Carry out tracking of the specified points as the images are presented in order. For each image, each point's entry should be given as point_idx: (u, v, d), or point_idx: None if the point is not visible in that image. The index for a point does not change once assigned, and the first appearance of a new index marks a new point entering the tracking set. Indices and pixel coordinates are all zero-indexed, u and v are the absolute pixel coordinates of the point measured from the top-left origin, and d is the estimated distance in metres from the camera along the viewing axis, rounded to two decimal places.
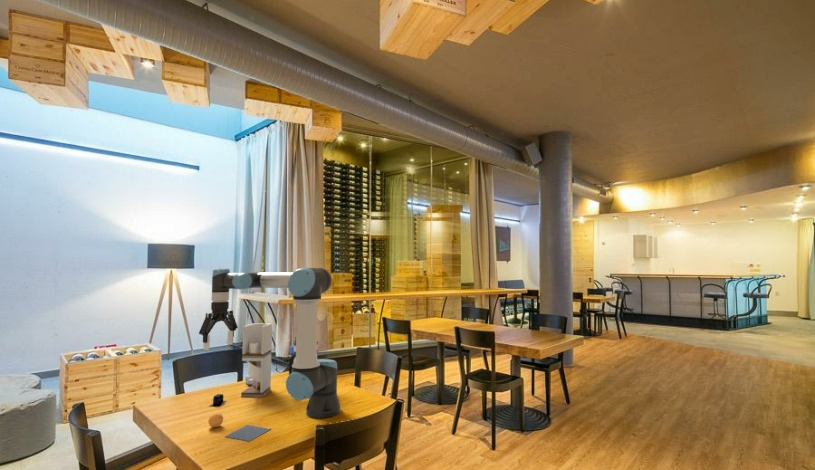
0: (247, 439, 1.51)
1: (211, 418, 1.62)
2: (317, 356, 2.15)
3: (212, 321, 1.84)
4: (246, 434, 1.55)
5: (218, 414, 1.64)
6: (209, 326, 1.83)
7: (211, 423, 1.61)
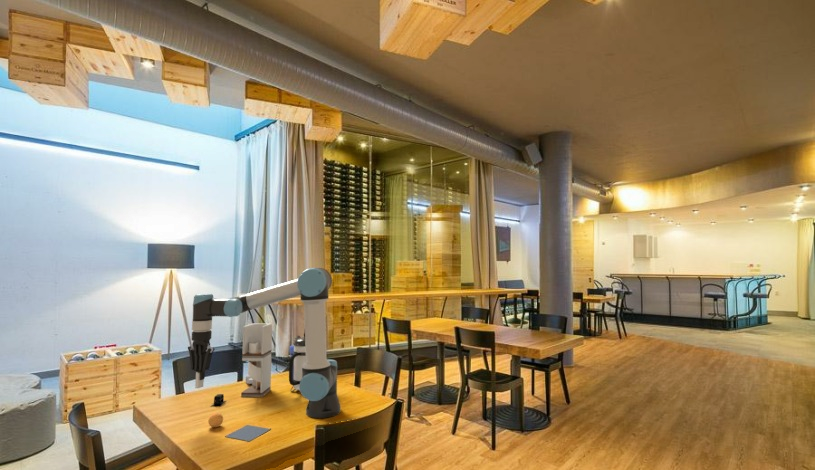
0: (247, 439, 1.51)
1: (211, 418, 1.62)
2: None
3: None
4: (246, 434, 1.55)
5: (218, 414, 1.64)
6: None
7: (211, 423, 1.61)
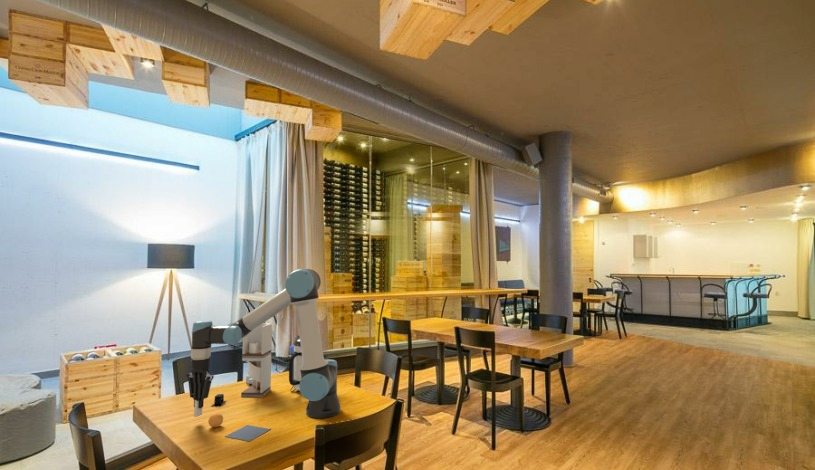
0: (247, 439, 1.51)
1: (211, 418, 1.62)
2: None
3: None
4: (246, 434, 1.55)
5: (218, 414, 1.64)
6: None
7: (211, 423, 1.61)
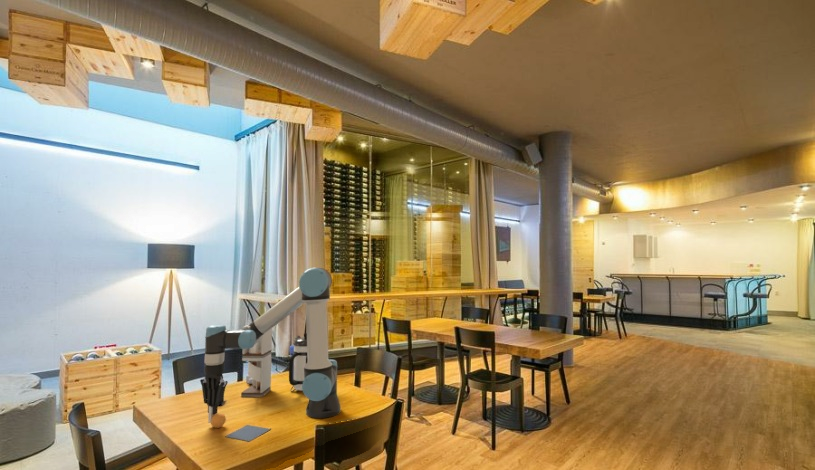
0: (247, 439, 1.51)
1: (214, 419, 1.61)
2: None
3: None
4: (246, 434, 1.55)
5: (222, 416, 1.63)
6: None
7: (213, 424, 1.61)
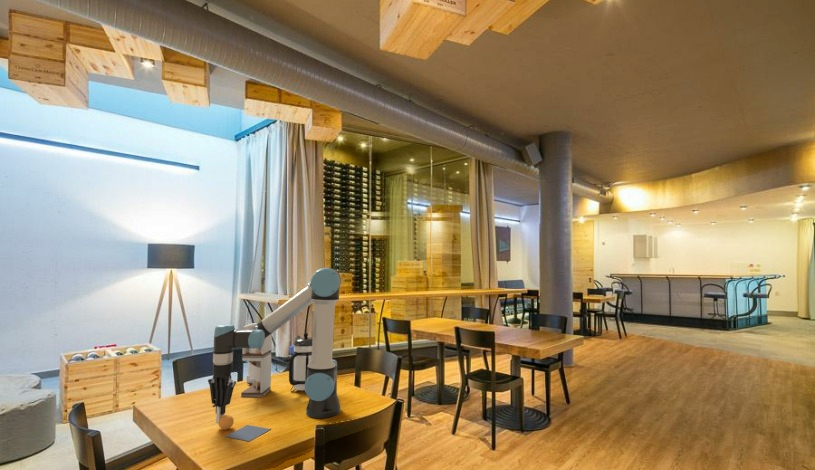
0: (247, 439, 1.51)
1: (224, 422, 1.59)
2: None
3: None
4: (246, 434, 1.55)
5: (231, 421, 1.61)
6: None
7: (221, 426, 1.59)
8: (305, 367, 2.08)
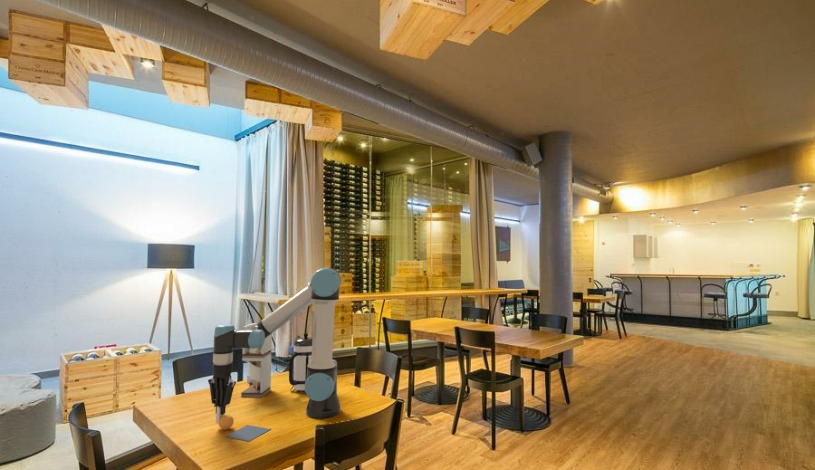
0: (247, 439, 1.51)
1: (224, 422, 1.59)
2: None
3: None
4: (246, 434, 1.55)
5: (231, 421, 1.61)
6: None
7: (221, 426, 1.59)
8: (305, 367, 2.08)
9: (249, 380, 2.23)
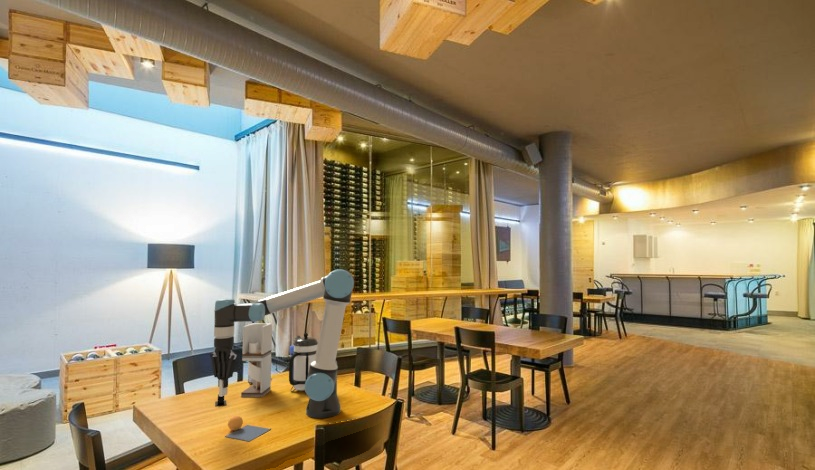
0: (247, 439, 1.51)
1: (233, 427, 1.58)
2: None
3: None
4: (246, 434, 1.55)
5: (236, 429, 1.60)
6: None
7: (229, 424, 1.58)
8: (305, 367, 2.08)
9: None
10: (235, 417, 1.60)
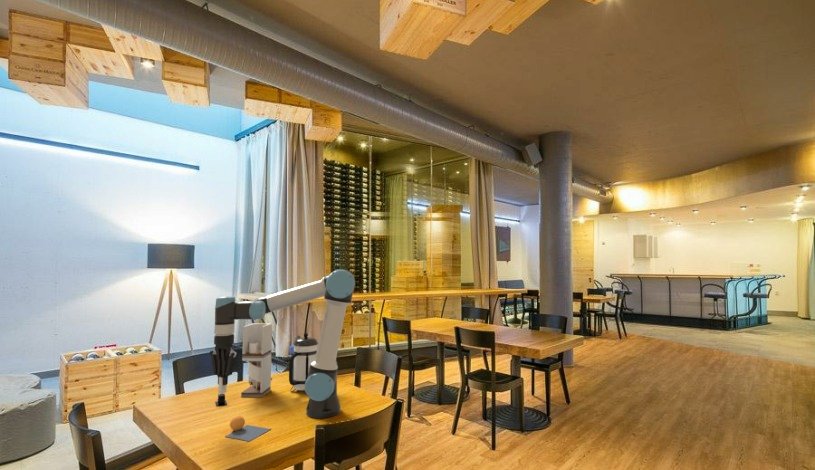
0: (247, 439, 1.51)
1: (234, 428, 1.58)
2: None
3: None
4: (246, 434, 1.55)
5: None
6: None
7: (232, 424, 1.58)
8: (305, 367, 2.08)
9: (251, 379, 2.25)
10: (239, 418, 1.60)
